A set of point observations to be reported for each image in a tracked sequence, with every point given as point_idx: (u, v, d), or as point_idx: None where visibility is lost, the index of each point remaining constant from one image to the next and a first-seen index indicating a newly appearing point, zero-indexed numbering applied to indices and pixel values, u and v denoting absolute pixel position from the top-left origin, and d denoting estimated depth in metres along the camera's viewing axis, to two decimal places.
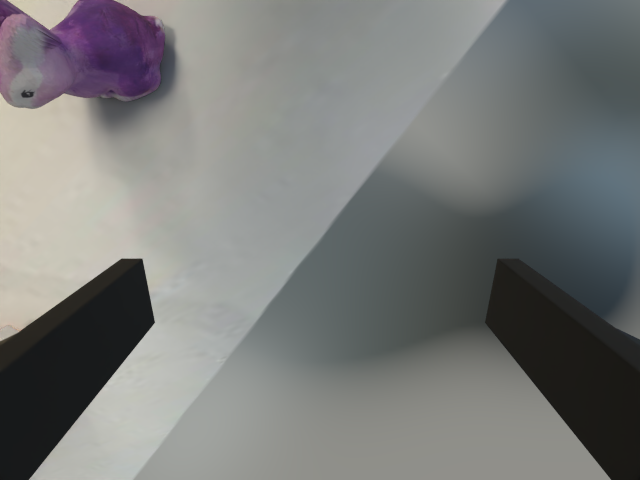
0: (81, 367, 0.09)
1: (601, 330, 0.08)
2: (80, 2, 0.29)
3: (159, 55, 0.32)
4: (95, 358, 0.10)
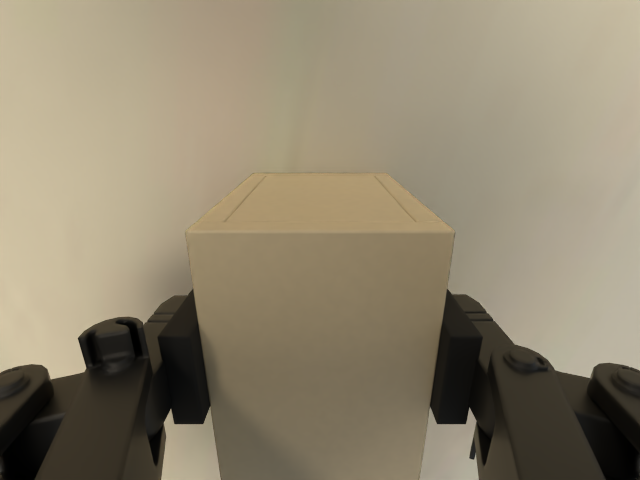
0: None
1: None
2: None
3: None
4: None
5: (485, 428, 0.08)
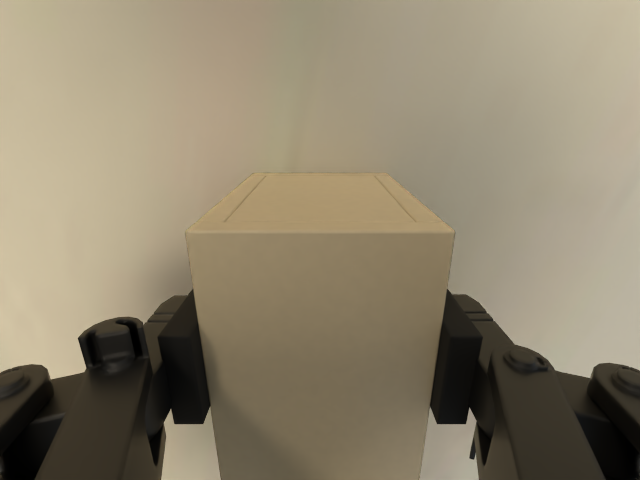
0: None
1: None
2: None
3: None
4: None
5: (485, 428, 0.08)
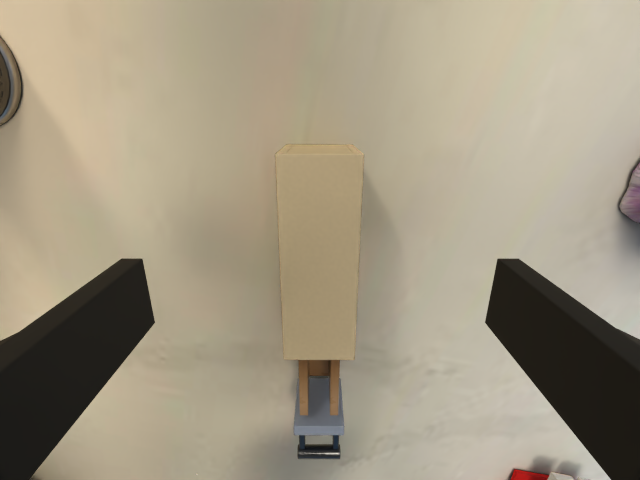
0: (82, 367, 0.09)
1: (601, 330, 0.08)
2: None
3: None
4: (95, 358, 0.10)
5: None
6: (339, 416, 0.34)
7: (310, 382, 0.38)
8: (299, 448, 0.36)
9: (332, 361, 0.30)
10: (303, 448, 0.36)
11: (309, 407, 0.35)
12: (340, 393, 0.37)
